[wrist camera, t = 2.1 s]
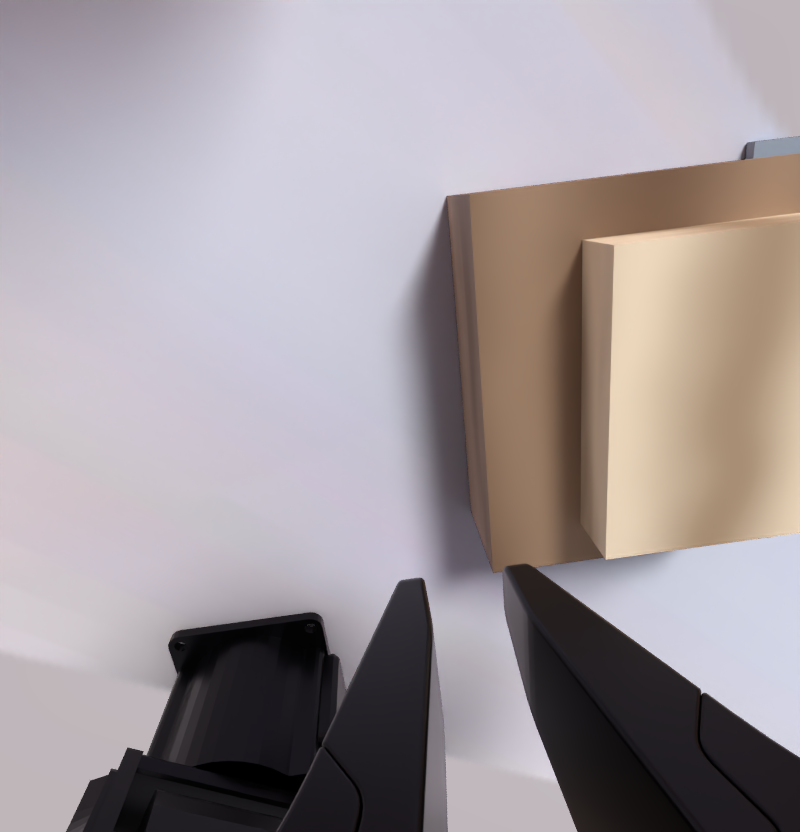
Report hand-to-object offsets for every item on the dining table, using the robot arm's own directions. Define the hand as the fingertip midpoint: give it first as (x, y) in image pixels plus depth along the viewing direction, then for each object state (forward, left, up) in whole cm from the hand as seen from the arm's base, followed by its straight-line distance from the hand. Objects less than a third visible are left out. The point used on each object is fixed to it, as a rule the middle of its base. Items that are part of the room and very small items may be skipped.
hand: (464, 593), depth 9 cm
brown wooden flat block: (+7, 0, -12) cm, 14 cm away
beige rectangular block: (+8, 0, -8) cm, 11 cm away
